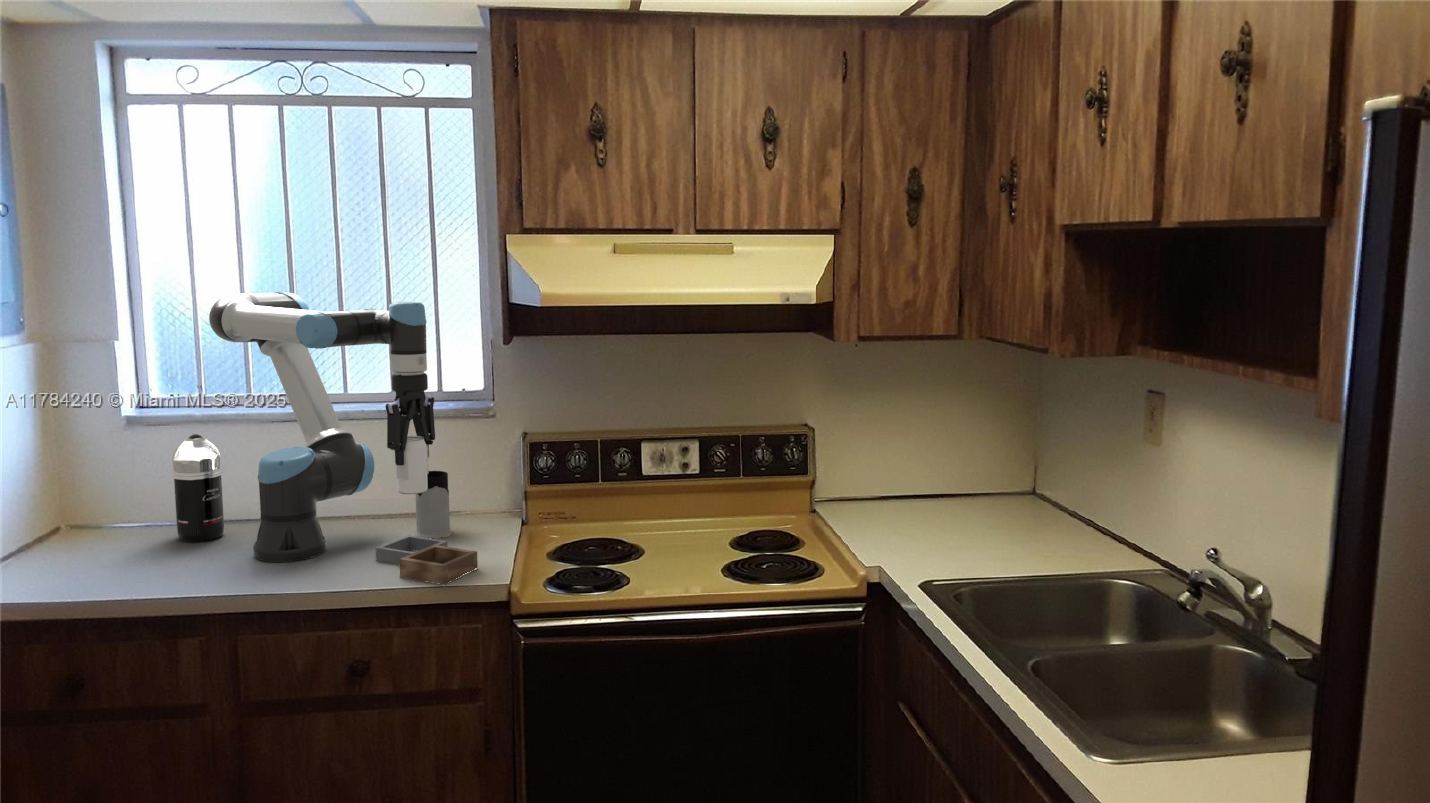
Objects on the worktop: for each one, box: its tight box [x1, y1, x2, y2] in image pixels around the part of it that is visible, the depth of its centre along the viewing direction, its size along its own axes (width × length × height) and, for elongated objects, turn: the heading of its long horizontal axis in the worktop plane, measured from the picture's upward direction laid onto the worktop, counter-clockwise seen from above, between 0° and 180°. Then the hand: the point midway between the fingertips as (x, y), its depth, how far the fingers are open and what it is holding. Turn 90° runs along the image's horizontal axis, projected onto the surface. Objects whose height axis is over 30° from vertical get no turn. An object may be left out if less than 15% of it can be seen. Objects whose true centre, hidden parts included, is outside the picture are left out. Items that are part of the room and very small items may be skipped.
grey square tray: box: [375, 535, 449, 565], centre depth 223 cm, size 11×11×3 cm
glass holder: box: [414, 470, 453, 539], centre depth 243 cm, size 9×14×15 cm, turn 29°
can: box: [396, 435, 428, 495], centre depth 219 cm, size 6×6×12 cm
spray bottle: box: [172, 433, 225, 543], centre depth 234 cm, size 10×10×25 cm
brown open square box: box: [398, 545, 479, 585], centre depth 212 cm, size 12×12×4 cm
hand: (413, 475), depth 219 cm, fingers closed on can, 6 cm apart
